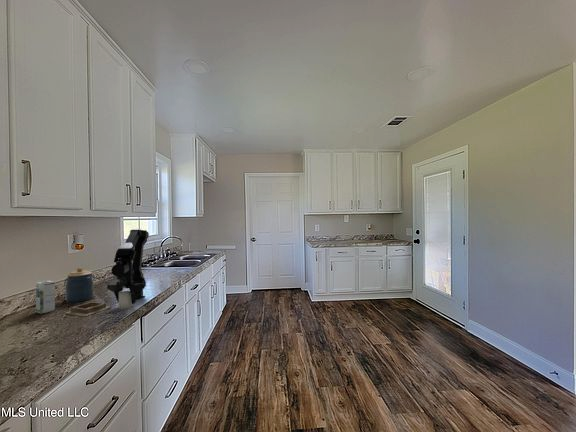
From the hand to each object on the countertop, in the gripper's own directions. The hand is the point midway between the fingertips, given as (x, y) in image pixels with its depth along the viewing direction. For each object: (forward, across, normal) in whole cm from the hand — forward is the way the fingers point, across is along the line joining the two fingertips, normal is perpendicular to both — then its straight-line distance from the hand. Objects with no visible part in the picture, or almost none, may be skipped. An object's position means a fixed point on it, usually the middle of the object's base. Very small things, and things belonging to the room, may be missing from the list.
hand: (126, 303), depth 141 cm
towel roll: (+2, 0, 0) cm, 2 cm away
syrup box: (+2, -33, -16) cm, 37 cm away
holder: (+2, -13, -10) cm, 16 cm away
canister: (+2, -38, +4) cm, 38 cm away
